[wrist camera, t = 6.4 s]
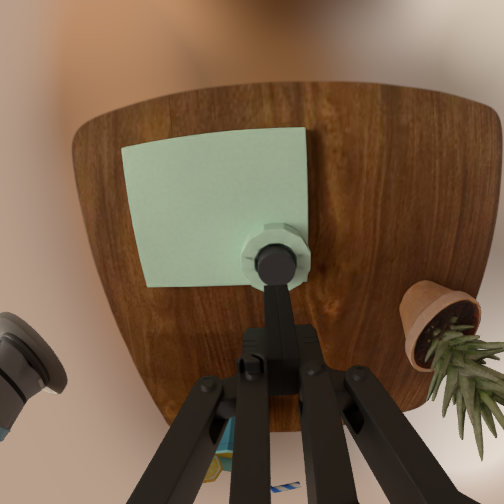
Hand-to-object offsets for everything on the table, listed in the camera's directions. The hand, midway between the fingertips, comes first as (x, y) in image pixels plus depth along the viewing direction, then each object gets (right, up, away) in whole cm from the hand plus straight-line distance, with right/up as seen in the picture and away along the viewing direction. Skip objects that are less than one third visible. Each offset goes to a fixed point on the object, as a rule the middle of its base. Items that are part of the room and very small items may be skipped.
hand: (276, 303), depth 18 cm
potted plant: (+18, -2, +10) cm, 21 cm away
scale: (-5, +7, +7) cm, 11 cm away
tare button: (0, +3, +6) cm, 6 cm away
